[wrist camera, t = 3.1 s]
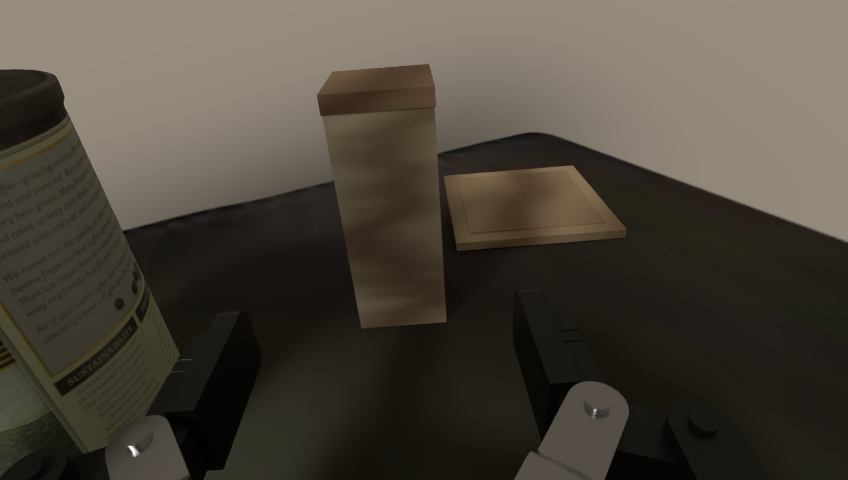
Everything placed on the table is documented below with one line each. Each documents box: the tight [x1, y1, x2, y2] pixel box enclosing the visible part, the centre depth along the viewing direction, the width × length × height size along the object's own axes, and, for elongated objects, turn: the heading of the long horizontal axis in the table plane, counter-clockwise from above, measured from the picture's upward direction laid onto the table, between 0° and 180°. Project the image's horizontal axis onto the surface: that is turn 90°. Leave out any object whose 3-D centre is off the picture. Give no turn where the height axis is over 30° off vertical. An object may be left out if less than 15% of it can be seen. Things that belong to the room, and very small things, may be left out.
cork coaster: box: [444, 166, 627, 251], centre depth 34 cm, size 11×11×1 cm
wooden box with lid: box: [317, 64, 447, 329], centre depth 23 cm, size 5×5×12 cm
